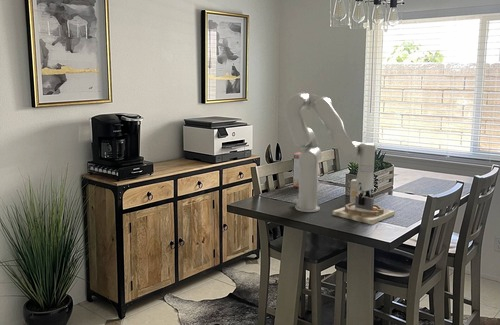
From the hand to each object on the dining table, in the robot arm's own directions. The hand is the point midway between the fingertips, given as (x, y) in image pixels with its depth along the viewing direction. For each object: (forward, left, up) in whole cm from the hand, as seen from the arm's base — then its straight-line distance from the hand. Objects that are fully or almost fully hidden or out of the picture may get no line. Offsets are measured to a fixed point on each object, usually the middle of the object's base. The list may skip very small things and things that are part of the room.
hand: (364, 203), depth 254 cm
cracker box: (-56, +24, -6) cm, 61 cm away
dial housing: (0, 0, -6) cm, 6 cm away
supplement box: (-13, +16, -6) cm, 21 cm away
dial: (0, 0, -4) cm, 4 cm away
